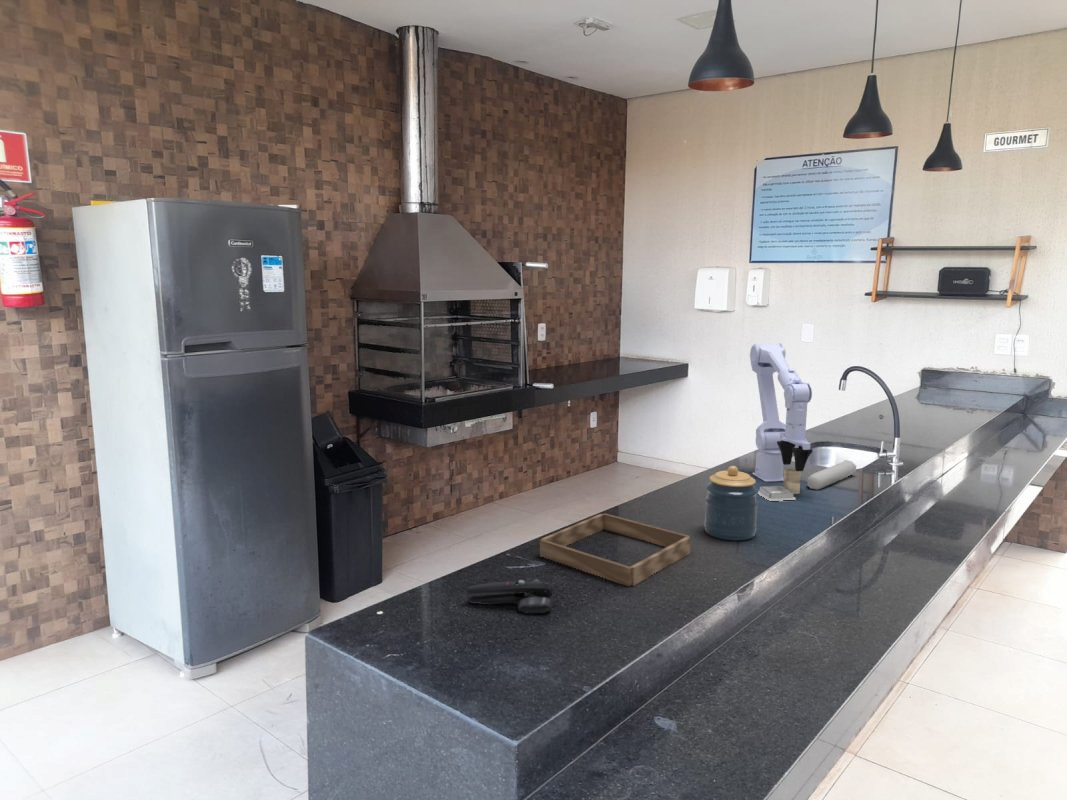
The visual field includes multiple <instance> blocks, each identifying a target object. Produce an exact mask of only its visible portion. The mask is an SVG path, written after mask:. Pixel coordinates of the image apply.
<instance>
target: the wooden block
mask: <svg viewBox="0 0 1067 800" xmlns="http://www.w3.org/2000/svg"><path fill="white" fill-rule="evenodd" d="M783 477H784V481H783V483H782V484H783V485H782V486H784V487H786V488H787V489H789V490H791V491H792V492H793V493H794V494H793V495H799V494H801V493H800V492H801V477H802V471H796V470H795V467H793V468H792V467H791V468H783ZM795 493H796V494H795ZM798 493H799V494H798Z"/></svg>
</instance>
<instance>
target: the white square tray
mask: <svg viewBox="0 0 1067 800" xmlns="http://www.w3.org/2000/svg"><path fill="white" fill-rule="evenodd" d="M759 491H760V493H761V494H763V495H765V496H766V497H768V498H771V499H782V498H793V497H794V495H795V494H794V493H793V492H792V491H791V490H789V489H787V488H786V487H784V486H783V485H765V486H759ZM774 491H781V492H783V493H771V492H774Z"/></svg>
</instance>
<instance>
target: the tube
mask: <svg viewBox="0 0 1067 800" xmlns="http://www.w3.org/2000/svg"><path fill="white" fill-rule="evenodd" d="M856 473H857V465H856V464H855V463H854V462H853V461H852V460H847V459H845V460H843V461H842V462H841V461H840V462H839V463H837V464H834V465H831V466H829V467H826V468H823V469H822V470H819V471H817V472H813V473H812V474H810V475H809V477H807V484H806V485H807V486H808V487H809V488H810V489H811V490H815V491H816V490H817V491H819V490H822V489H824V488H826V487H829V486H830V485H833V484H835V483H837V481H838V482H840V481H842V480H845V479H847V478H849V477H848V476H850V475H855V474H856ZM846 477H847V478H846ZM850 477H851V476H850ZM844 478H845V479H844ZM839 480H840V481H839Z"/></svg>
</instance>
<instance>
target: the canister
mask: <svg viewBox="0 0 1067 800" xmlns="http://www.w3.org/2000/svg"><path fill="white" fill-rule="evenodd" d="M709 481H710V482H708V483H707V484H706V485H705V489H706V490H707V496H706V497H705V498H704V499H705V500H704V501H705V516H704V521H703V522H704V524H703V526H704V530H705V533H706V534H707V535H708V536H711V537H713V538H716V539H720V540H724V541H725V540H726V541H733V542H734V541H747V540H751V539H753V538H754V537H755V535H756V531H757V511H758V505H759V502H758V500H757V495H758V494H757V493H758V492H759V491H760V489H758V487H757V486H756V485H755V484H756V483H757V482H756V479H755V478H754V477H752V476H751V475H750V474H748V473H746V472H743V471H739V469H738V467H737V466H736V465H730V466H729V467H728V468H727V470H720V471H717V472H715V473H714V474H712V475H710V476H709Z"/></svg>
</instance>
